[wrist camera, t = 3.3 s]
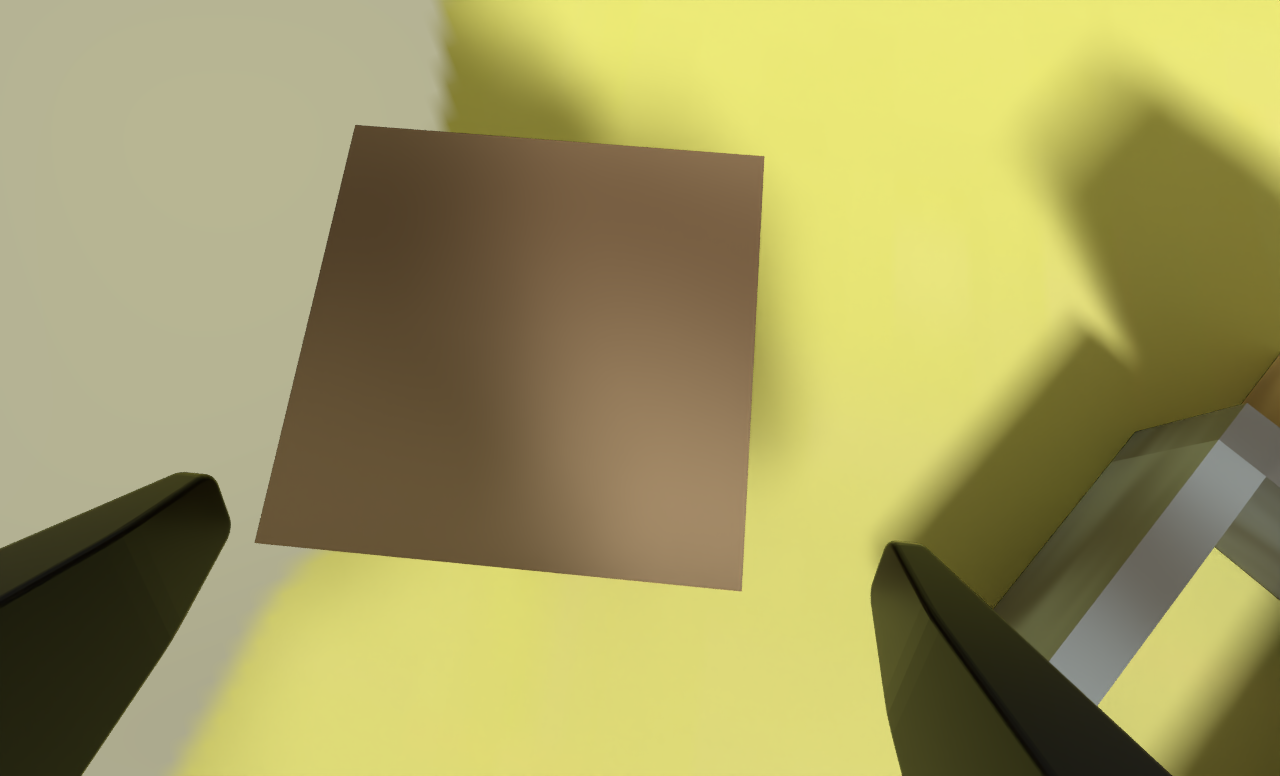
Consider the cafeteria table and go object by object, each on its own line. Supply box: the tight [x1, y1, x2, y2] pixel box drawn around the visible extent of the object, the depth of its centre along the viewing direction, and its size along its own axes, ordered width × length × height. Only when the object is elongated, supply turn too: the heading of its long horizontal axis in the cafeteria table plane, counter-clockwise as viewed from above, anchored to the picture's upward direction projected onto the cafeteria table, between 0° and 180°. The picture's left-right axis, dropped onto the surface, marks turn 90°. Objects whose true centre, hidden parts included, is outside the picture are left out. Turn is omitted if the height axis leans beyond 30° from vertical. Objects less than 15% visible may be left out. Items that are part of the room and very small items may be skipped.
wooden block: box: [255, 125, 764, 591], centre depth 12 cm, size 5×5×12 cm
